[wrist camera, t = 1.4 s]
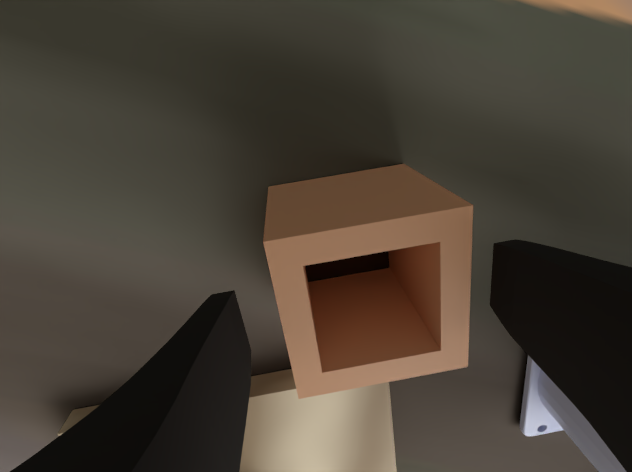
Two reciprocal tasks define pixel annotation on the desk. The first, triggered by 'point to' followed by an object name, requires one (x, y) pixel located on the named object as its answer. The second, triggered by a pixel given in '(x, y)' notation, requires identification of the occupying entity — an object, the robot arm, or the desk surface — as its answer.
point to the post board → (310, 428)
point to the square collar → (370, 277)
